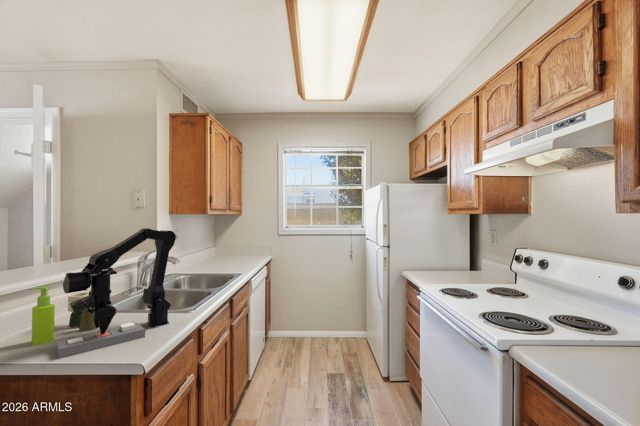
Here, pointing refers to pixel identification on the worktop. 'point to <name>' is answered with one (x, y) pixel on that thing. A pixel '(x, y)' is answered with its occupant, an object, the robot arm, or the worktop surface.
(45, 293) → the soap dispenser
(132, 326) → the button
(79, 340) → the button
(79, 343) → the button panel
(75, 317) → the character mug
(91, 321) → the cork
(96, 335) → the red button
